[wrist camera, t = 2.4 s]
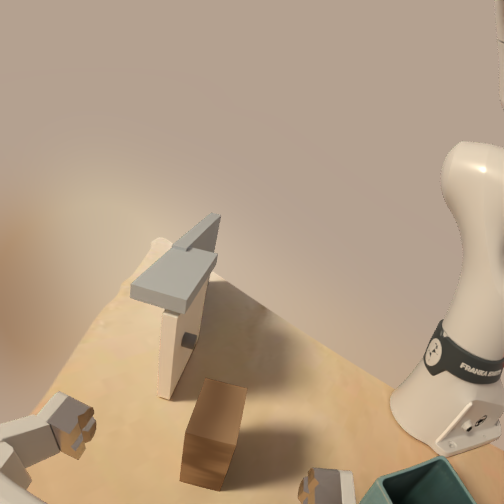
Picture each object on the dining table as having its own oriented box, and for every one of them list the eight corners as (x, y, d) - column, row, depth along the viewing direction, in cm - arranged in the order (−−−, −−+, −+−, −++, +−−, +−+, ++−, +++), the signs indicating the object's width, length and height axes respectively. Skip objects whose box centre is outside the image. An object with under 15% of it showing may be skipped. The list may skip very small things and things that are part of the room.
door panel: (207, 341, 47) (219, 270, 43) (180, 403, 34) (190, 322, 30) (188, 335, 47) (198, 265, 43) (156, 395, 34) (162, 313, 30)
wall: (226, 288, 66) (240, 219, 61) (174, 403, 34) (187, 296, 29) (199, 281, 66) (211, 212, 62) (129, 387, 34) (131, 280, 29)
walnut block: (231, 441, 30) (247, 388, 27) (219, 491, 24) (236, 445, 21) (195, 432, 31) (205, 377, 28) (179, 481, 24) (185, 432, 21)
